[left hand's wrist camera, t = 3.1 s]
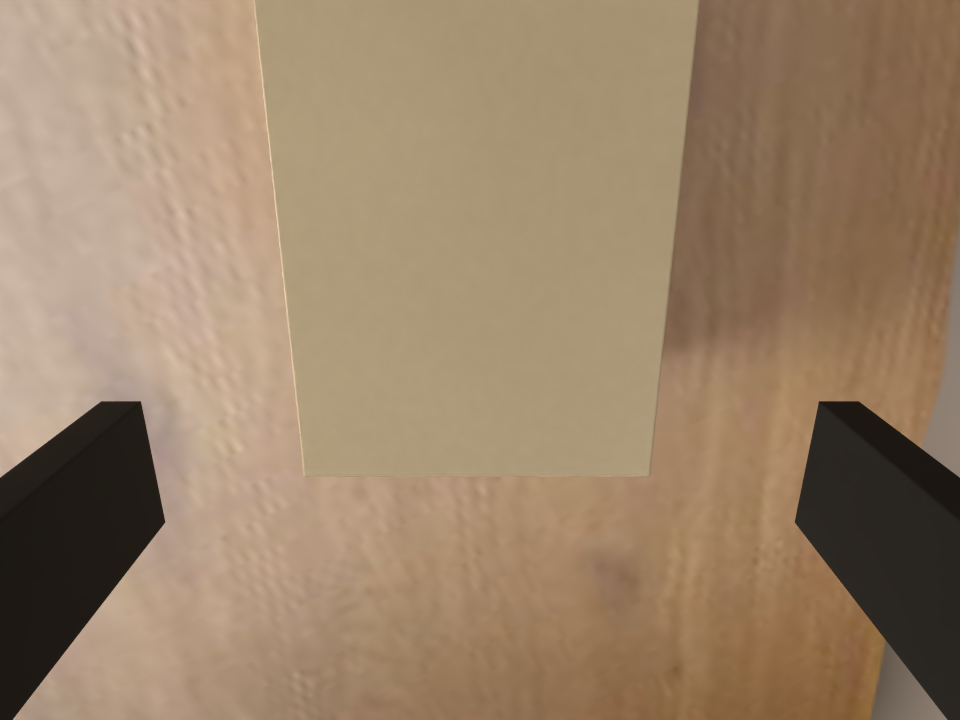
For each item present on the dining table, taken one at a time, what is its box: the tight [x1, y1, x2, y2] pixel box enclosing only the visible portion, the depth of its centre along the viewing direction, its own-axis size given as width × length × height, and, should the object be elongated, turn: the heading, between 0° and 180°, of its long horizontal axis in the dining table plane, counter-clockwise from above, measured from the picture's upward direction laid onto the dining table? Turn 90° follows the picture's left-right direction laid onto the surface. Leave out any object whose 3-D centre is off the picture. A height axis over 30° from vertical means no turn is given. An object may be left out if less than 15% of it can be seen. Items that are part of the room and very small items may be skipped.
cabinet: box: [253, 0, 700, 477], centre depth 21 cm, size 21×11×9 cm, turn 0°
